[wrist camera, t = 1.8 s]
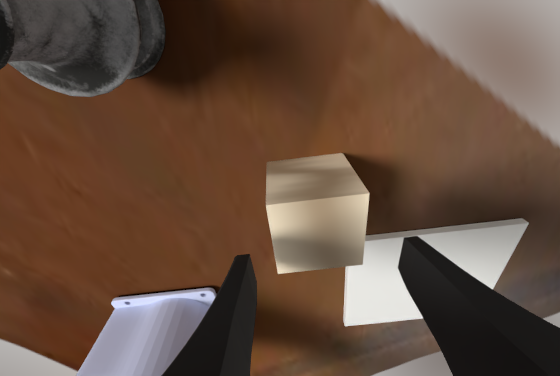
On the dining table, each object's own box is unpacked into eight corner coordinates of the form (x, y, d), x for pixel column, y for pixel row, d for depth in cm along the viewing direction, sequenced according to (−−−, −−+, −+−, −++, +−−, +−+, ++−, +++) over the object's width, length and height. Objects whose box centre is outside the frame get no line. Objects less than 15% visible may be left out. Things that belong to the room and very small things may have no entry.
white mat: (343, 320, 26) (344, 326, 25) (346, 237, 19) (349, 242, 19) (475, 307, 25) (479, 312, 25) (522, 218, 19) (528, 222, 19)
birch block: (276, 220, 18) (277, 273, 14) (266, 161, 16) (265, 205, 12) (340, 212, 18) (362, 264, 14) (342, 152, 16) (369, 193, 11)
